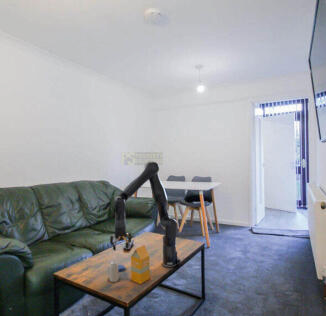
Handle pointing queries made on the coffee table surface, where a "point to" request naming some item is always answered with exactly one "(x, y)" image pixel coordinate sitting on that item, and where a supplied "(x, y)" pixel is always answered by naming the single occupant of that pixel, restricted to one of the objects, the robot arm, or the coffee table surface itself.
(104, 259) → the coffee table surface
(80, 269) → the coffee table surface
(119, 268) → the lid
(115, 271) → the jar
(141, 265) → the orange juice
